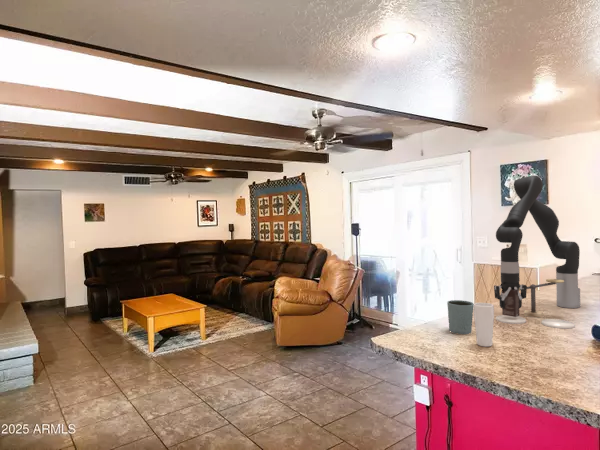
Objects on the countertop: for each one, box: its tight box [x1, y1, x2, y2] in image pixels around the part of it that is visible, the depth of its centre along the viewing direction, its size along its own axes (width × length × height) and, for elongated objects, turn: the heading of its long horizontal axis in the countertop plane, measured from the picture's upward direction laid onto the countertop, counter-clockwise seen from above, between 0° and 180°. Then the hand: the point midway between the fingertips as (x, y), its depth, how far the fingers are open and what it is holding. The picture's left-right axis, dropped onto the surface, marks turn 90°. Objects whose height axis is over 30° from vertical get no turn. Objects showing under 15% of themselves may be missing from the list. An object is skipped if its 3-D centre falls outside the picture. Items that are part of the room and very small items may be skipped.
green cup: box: [446, 299, 475, 335], centre depth 164 cm, size 10×10×12 cm
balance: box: [519, 278, 564, 319], centre depth 187 cm, size 24×7×17 cm, turn 60°
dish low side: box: [495, 314, 527, 325], centre depth 179 cm, size 12×12×1 cm
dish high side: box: [541, 318, 576, 329], centre depth 170 cm, size 12×12×1 cm
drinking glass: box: [473, 302, 495, 348], centre depth 146 cm, size 7×7×15 cm
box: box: [501, 289, 521, 317], centre depth 179 cm, size 6×4×12 cm
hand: (510, 308), depth 179 cm, fingers closed on box, 6 cm apart
